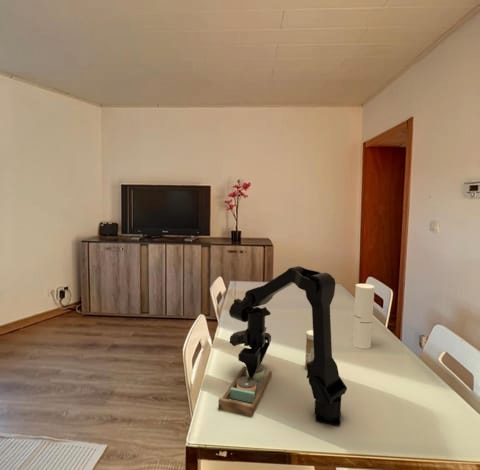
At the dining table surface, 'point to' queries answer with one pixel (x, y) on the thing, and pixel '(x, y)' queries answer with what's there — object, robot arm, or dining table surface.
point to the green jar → (258, 373)
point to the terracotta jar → (247, 383)
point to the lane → (239, 406)
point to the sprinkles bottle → (309, 347)
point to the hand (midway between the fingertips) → (255, 370)
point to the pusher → (242, 394)
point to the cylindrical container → (363, 316)
